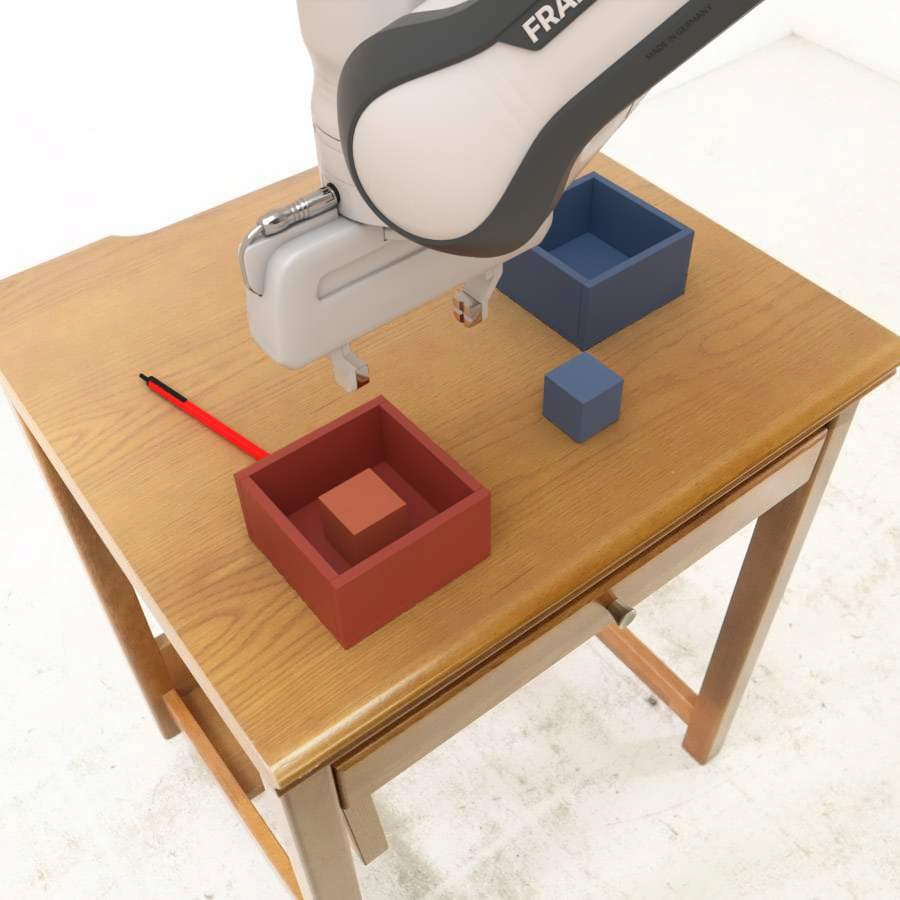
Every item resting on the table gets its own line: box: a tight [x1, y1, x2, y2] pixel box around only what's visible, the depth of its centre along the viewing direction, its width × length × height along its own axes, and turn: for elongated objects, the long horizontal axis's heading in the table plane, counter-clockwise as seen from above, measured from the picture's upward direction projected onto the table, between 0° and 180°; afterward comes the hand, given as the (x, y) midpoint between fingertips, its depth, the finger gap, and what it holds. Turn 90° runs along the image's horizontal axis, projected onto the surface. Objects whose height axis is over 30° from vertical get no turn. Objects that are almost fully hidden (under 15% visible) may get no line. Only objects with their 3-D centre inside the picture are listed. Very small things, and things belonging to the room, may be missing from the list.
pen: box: [138, 373, 271, 461], centre depth 85 cm, size 1×19×1 cm, turn 50°
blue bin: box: [495, 170, 696, 352], centre depth 95 cm, size 13×13×7 cm
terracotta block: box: [318, 468, 409, 567], centre depth 75 cm, size 4×4×4 cm
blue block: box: [541, 350, 625, 444], centre depth 84 cm, size 4×4×4 cm
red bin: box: [233, 394, 492, 651], centre depth 75 cm, size 13×13×7 cm
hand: (413, 350), depth 67 cm, fingers open, 8 cm apart
